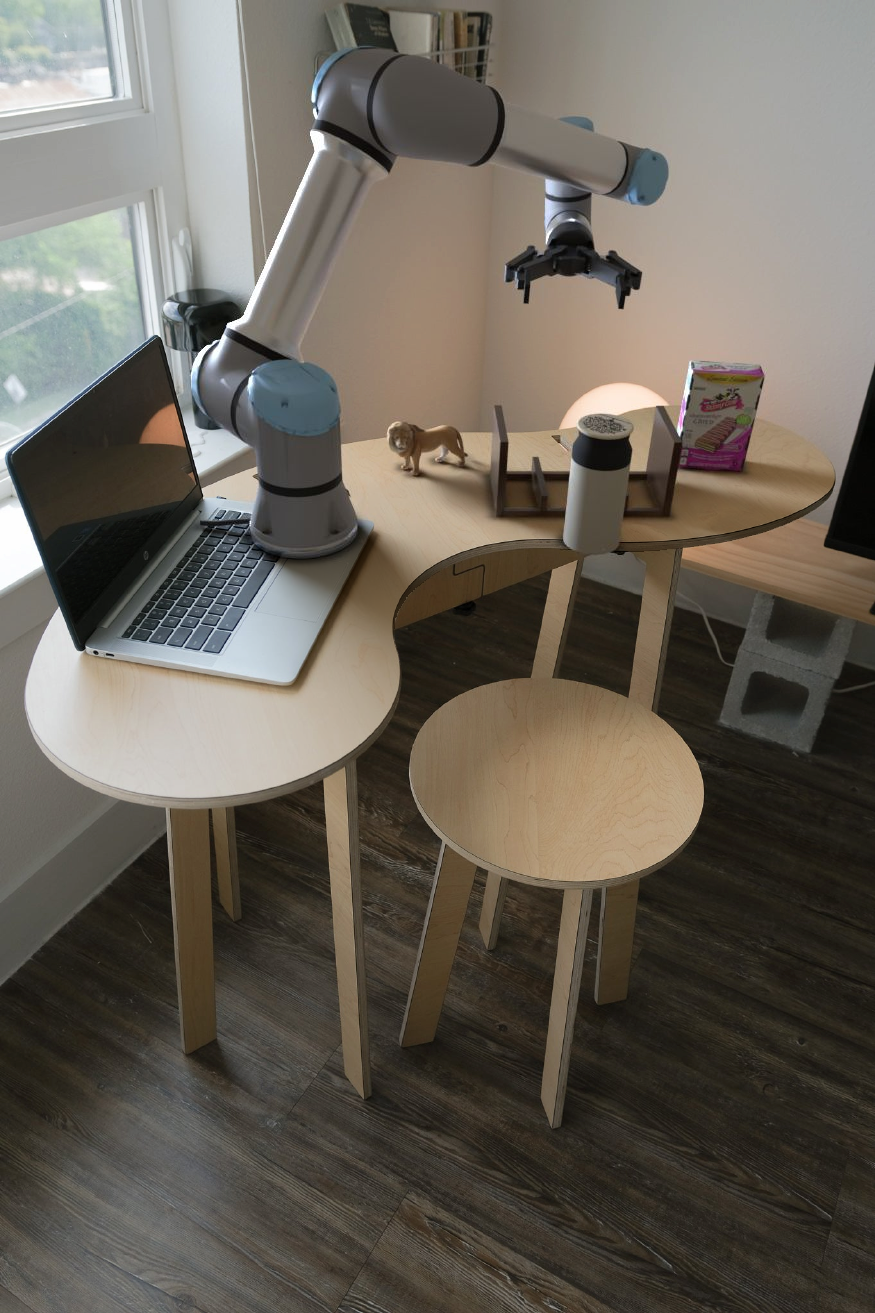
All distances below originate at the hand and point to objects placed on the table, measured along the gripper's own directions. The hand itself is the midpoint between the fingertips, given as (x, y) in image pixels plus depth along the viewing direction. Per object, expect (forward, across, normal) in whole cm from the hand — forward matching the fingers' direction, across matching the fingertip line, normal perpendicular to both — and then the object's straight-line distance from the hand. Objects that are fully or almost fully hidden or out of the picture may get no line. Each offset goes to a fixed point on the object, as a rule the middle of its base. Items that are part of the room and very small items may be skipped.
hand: (574, 297), depth 143 cm
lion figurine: (+2, +20, -29) cm, 35 cm away
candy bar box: (-4, -25, -28) cm, 38 cm away
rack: (+9, -3, -28) cm, 29 cm away
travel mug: (+22, -5, -27) cm, 35 cm away
